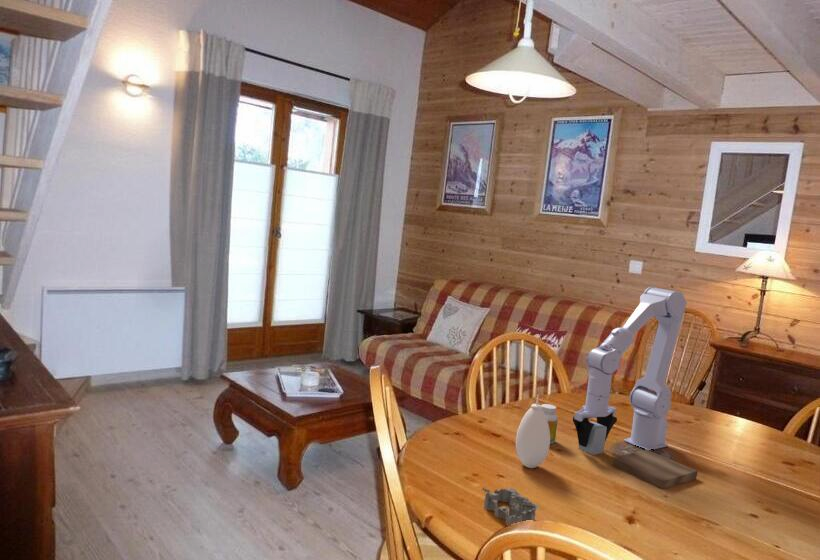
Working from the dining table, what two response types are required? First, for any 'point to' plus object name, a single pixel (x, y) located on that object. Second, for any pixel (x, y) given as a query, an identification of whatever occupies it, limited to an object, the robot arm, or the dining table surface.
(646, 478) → the walnut board
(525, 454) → the sauce bottle
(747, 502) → the dining table surface
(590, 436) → the blue-grey block
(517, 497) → the grey hollow block
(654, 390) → the robot arm
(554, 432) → the supplement bottle
